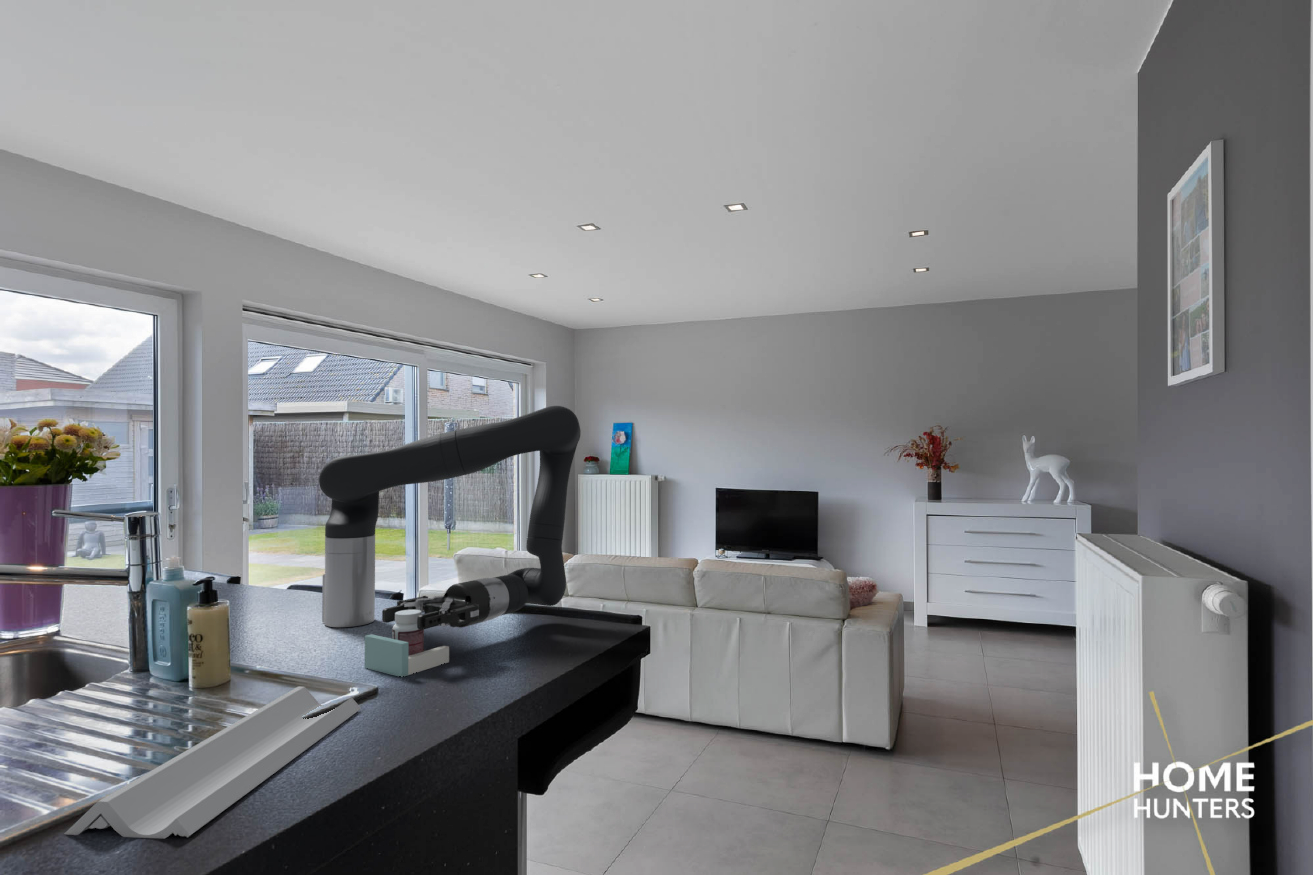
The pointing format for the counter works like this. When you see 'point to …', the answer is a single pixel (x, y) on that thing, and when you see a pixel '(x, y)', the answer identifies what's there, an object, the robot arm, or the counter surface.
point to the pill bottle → (409, 630)
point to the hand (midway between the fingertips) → (400, 619)
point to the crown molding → (215, 770)
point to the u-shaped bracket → (400, 656)
